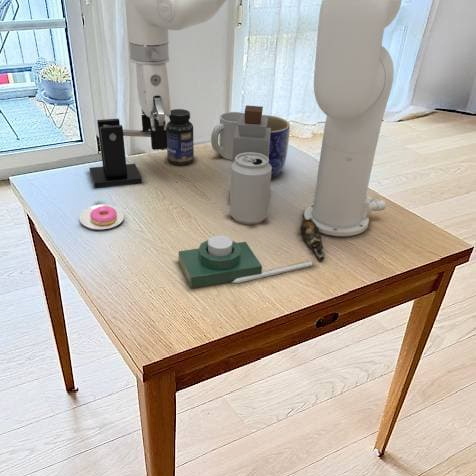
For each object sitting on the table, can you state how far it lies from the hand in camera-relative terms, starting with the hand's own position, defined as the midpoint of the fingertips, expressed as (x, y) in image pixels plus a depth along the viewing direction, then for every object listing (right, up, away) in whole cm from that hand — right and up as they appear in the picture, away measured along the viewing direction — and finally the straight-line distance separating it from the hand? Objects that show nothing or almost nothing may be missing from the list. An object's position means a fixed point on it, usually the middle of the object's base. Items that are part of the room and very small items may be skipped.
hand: (154, 140), depth 112 cm
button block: (+15, -30, -24) cm, 41 cm away
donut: (-9, -19, -11) cm, 24 cm away
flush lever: (-5, 0, -2) cm, 5 cm away
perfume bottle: (+20, -13, -2) cm, 24 cm away
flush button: (+15, -27, -26) cm, 40 cm away
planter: (+23, -5, +8) cm, 25 cm away
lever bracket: (-9, -7, +2) cm, 12 cm away
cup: (+16, +1, +14) cm, 21 cm away
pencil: (+23, -31, -24) cm, 46 cm away
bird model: (+31, -24, -15) cm, 42 cm away
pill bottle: (+4, -1, +11) cm, 12 cm away
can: (+20, -18, -9) cm, 28 cm away
